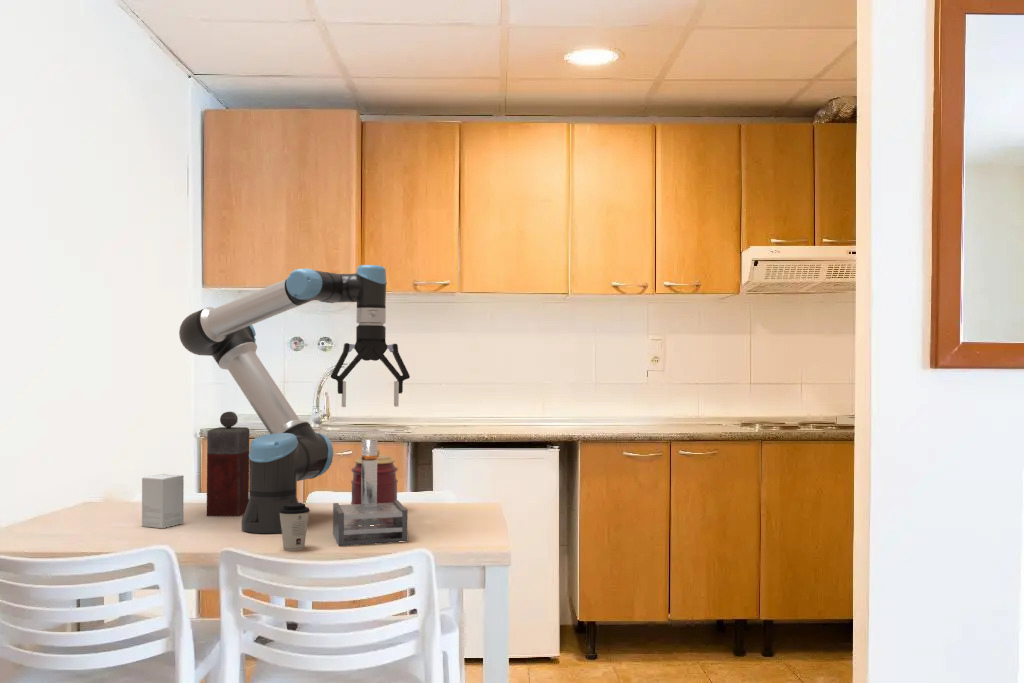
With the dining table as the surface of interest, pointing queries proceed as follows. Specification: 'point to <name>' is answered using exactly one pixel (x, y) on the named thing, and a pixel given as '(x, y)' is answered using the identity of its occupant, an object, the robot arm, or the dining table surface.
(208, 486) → the square decanter
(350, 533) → the collar stand
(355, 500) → the canister
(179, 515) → the supplement box
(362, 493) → the tube
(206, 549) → the dining table surface
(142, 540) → the dining table surface
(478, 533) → the dining table surface
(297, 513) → the coffee cup
